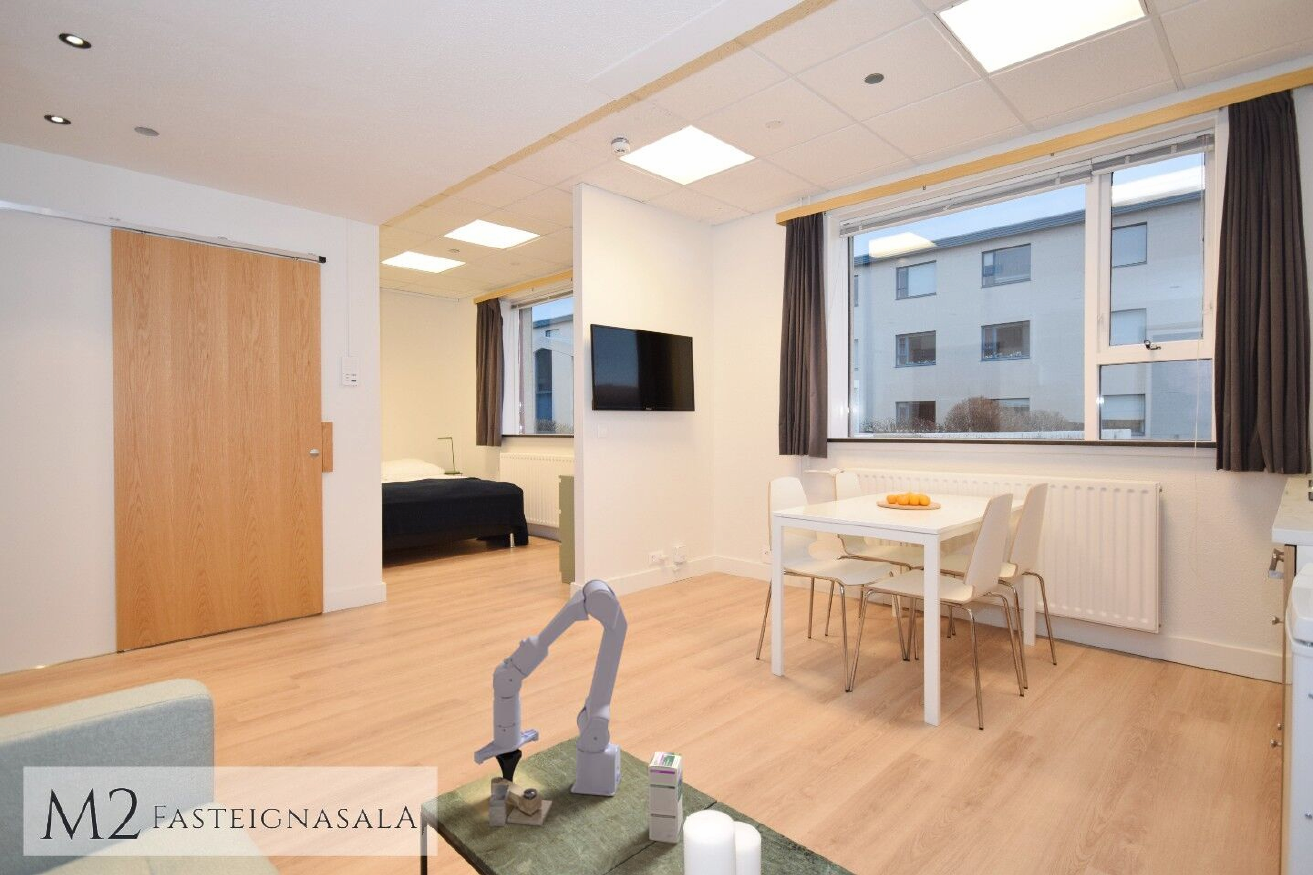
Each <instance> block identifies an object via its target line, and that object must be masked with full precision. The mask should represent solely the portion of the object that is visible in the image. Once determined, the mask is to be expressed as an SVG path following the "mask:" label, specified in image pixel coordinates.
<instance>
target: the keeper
mask: <svg viewBox="0 0 1313 875" xmlns="http://www.w3.org/2000/svg"><path fill="white" fill-rule="evenodd" d="M508 793H509V785H494V788H493V791H492V794H491V795H490V797H489V800H488V813H489V815H488V819H489V820H488V822H489V823H488V824H489V825H488V826H489V827H505V826H506V823H507V801H506V800H507V796H508Z"/></svg>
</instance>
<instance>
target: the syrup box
mask: <svg viewBox="0 0 1313 875" xmlns="http://www.w3.org/2000/svg"><path fill="white" fill-rule="evenodd" d="M647 771H648V774H647V775H648V780H647V782H648V834H649V835H648V838H649V840H651V841H656V842H662V843H669V844H679V841H680V837H681V834H682V831H683V829H684V828H683V827H684V800H683V799H684V796H683V795H684V794H683V793H684V791H683V788H684V787H683V786H684V785H683V784H684V782H683V755H682V753H678V752H677V753H676V752H671V751H670V752H669V751H654V753H653V756H652V758H651V759H650V762H649V764H648V767H647Z"/></svg>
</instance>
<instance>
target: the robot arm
mask: <svg viewBox="0 0 1313 875" xmlns="http://www.w3.org/2000/svg"><path fill="white" fill-rule="evenodd" d="M589 615H590V616H591V617H592V618H593V619H595V620H597V621H598V622H599V623H600V625H602V627H603V632H602V636H601V640H600V645H599V649H598V652H597V653H598V654H597V657H596V663H595V667H594V671H593V676H592V679H591V684H590V688H589V692H588V693H589V694H588V696H587V697H586V698H585V702H584V704H583V707H582V708H581V710H580V711H579V712H578V714H577V716H576V725H577V727H578V731H579V737H578V739H577V741H576V744H575V745H576V748H575V749H576V752H575V754H576V758H575V759H576V762H575V763H576V778H575V781H574V783H573V785H572V787H571V788H570V792H571V793H573V794H584V795H593V796H594V795H596V796H604V797H605V796H606V797H613V796H615V794H616V792H617V789H618V787H619V784H620V781H621V778H622V774H621V746H620V745H618V744H615V743H614V744H613V743H612V742H610V738H611V734H610V730H609V729H610V728H609V723H610V719H611V718H610V717H611V716H610V714H611V713H610V710H611V709H610V706H611V700H612V696H613V692H614V688H615V683H616V678H617V674H618V671H619V665H620V662H621V656H622V652H623V649H624V644H625V638H626V635H627V632H628V622H627V619H626V616H625V614H624V612H623V609H622V606H621V604H620V601H619V599H618V598H617V596H616V594H615V592H614V591H613V589H612V588H611V587H610V586H609V585H608V584H607V583H606V582H605V581H604V580H602V579H598V578H597V579H590V580H589V581H587V582H586V583H585V585H584V586H583V587H582V588H580V589H578V590H577V591H576V592H575V593H574V594H573V595H572V597H571V598H570V599H569V600H568V601H567V603H565V605H564V606H563V607H562V608H561V609H560V610H559V611H558V612H557V614H556V615H555V616H554V617H553V618H552V619H551V620H550V621H549V622H548V624H547V625H545V627H544V628H543V629H542V630H541V632H540V633H539V634H537V635H529V636H528V637H527V638H526V639H525V638H522V639H521V640H520V641H519V646H518V647H517V648H516V650H515V651H514V652H512V654H511V655H510V656H508V657H507V656H506V657H505V658H503V662H501V663H498V665H497V666H496V667H495V669H494V671H493V674H492V676H493V678H492V688H493V702H492V703H493V708H492V709H493V710H492V711H493V712H492V713H493V714H492V716H493V717H492V718H493V722H492V723H493V740H492V741H490V742H489V743H487V744H486V745H485V746H483V747H482V748H480V749H478V750H476V751H474V752H473V756H474V757H473V758H474V759H473V761H474V762H475V763H476V764H477V765H482V764H484V762H485V761H487V760H490V759H492V758H495V759H496V761H497V762H498V765H499V767H500V770H501V773H502V778H504V779H506V780H508V781H511V782H513V783H514V774H515V772H516V769H517V766H518V764H519V763H520V762H519V761H520V760H521V759H522V756H523V751H522V750H520V748H521V747H522V746H524V745H526V744H529V743H531V742H537V741H539V740H540V739H539V737H540V736H539V734H540V733H539V731H538V730H537V729H535V728H532V729H528V730H523V731H522V716H521V715H522V698H521V696H520V691H521V689H522V685H523V684H522V683H523V681H524V680H525V679H528V677H529V676H530V675H531V674H532V673H533V672H534V671H535V670H536V669H537V668H538V667H539V666H540V665H541V663H542V662H543V661H545V660H546V658H547V657H548V656H549V648H550V646H551V645H552V644H553V643H554V642H555V641H557V639H558V638H559V637H560V636H561V635H562V634H564V633H565V632H566V631H567V630H568V629H569V628H570V627H571V626H572V625H573V624H574V623H575V622H581V621H584V622H586V621H590V618H589Z"/></svg>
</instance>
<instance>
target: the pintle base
mask: <svg viewBox="0 0 1313 875" xmlns="http://www.w3.org/2000/svg"><path fill="white" fill-rule="evenodd" d="M526 789H527V790H525V791H524V796H525V797H527V799H529V800H531V799H532V798H534V796H536V795H537V793H538V790H537V789H536V788H533V787H532V788H526ZM552 806H553V800H544V799H542V807H541V808H539V809H538V810H536V811H535V812H533V813H532V814H531V815H530V814H528V813H526V812H524V811H522V810H520V809H519V807H517V806H515V805H514V807H513V809H512V810H511V812H510V814H509V815H508V816H507V817H506V823H510V824H512V823H513V824H519V825H531V826H539V827H541V826H542V825H543V824H544V822H545V820H546V818H547V816H548V814H549V813H550V810H551V808H552Z"/></svg>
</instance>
